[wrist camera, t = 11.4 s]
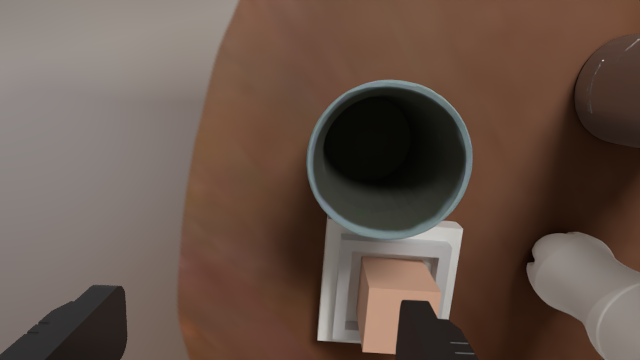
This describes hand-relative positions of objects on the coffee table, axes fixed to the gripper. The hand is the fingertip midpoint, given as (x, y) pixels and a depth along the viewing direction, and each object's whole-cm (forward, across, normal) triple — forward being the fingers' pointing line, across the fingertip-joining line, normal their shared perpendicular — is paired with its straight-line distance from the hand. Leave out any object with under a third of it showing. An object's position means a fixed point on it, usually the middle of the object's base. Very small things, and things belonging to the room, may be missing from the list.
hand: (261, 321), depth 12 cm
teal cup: (+26, -6, -2) cm, 27 cm away
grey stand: (+26, -9, +11) cm, 30 cm away
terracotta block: (+24, -9, +11) cm, 28 cm away
